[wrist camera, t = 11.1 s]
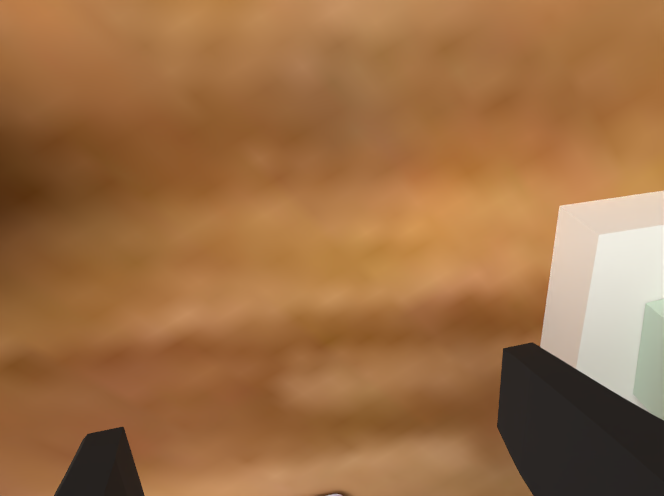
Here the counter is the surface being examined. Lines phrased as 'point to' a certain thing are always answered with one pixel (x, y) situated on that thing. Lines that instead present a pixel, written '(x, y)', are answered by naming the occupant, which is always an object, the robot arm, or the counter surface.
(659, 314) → the sage block
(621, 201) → the white block
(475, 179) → the counter surface
